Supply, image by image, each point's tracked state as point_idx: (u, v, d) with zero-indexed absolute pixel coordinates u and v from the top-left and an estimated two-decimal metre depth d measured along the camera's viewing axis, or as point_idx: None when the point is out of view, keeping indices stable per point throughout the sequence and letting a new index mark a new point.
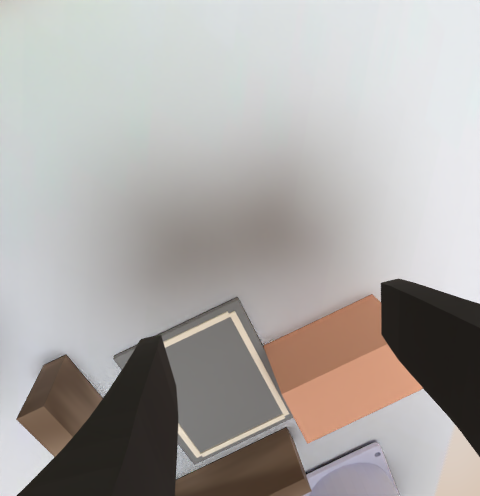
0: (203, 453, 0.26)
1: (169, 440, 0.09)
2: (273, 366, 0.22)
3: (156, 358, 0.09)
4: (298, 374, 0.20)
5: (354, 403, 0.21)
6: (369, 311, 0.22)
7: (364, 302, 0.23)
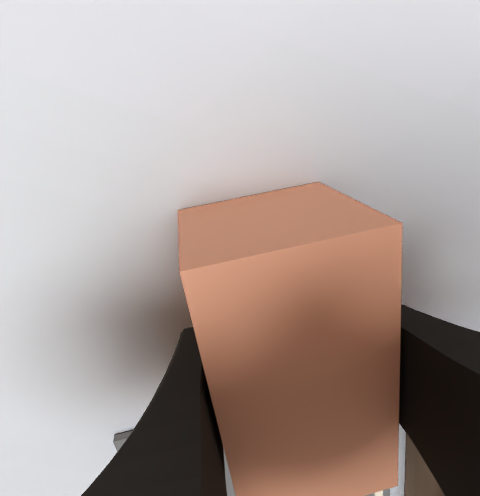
0: (375, 495, 0.17)
1: (217, 427, 0.09)
2: None
3: None
4: None
5: (346, 405, 0.09)
6: None
7: None
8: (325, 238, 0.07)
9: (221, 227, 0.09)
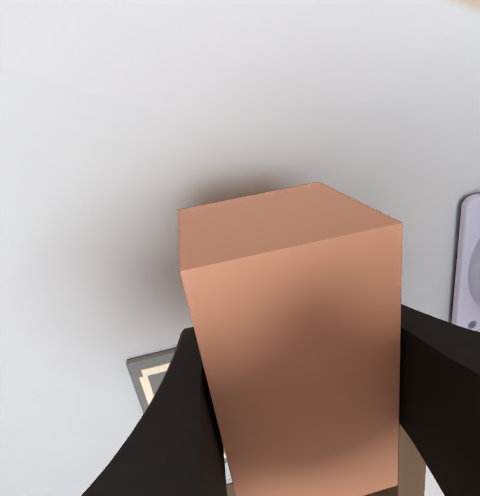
0: None
1: (218, 427, 0.09)
2: None
3: None
4: None
5: (346, 405, 0.09)
6: None
7: None
8: (325, 237, 0.07)
9: (221, 226, 0.09)
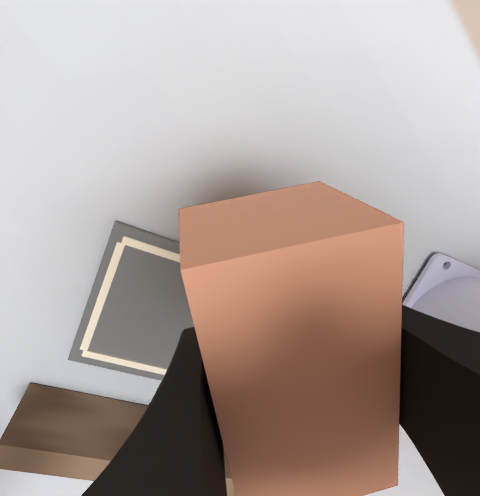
0: None
1: (218, 427, 0.09)
2: None
3: None
4: None
5: (347, 405, 0.09)
6: None
7: None
8: (326, 236, 0.07)
9: (222, 225, 0.09)
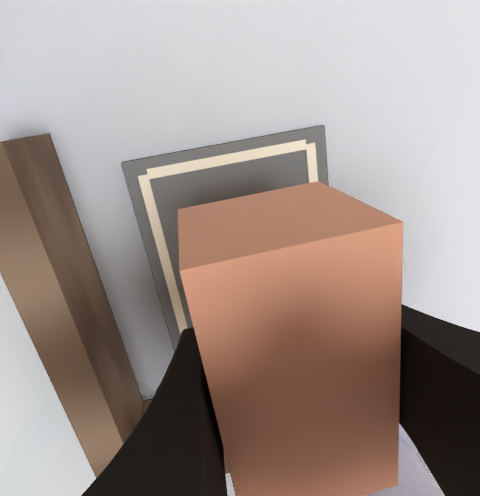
0: None
1: (218, 427, 0.09)
2: None
3: None
4: None
5: (347, 405, 0.09)
6: None
7: None
8: (325, 237, 0.07)
9: (221, 226, 0.09)
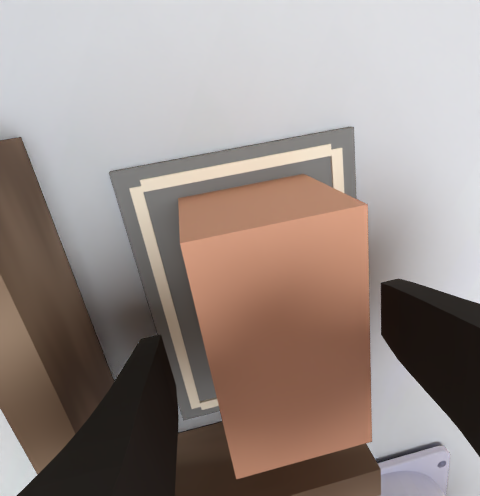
0: (203, 403, 0.15)
1: (169, 440, 0.09)
2: None
3: (156, 358, 0.09)
4: None
5: (324, 365, 0.10)
6: None
7: None
8: (302, 216, 0.08)
9: (216, 210, 0.10)
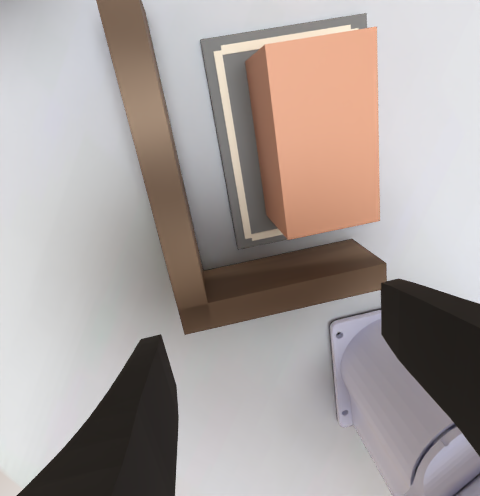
0: (254, 234, 0.21)
1: (169, 440, 0.09)
2: (275, 223, 0.18)
3: (156, 358, 0.09)
4: (280, 208, 0.17)
5: (348, 149, 0.15)
6: (253, 80, 0.17)
7: (249, 77, 0.17)
8: (336, 33, 0.14)
9: None
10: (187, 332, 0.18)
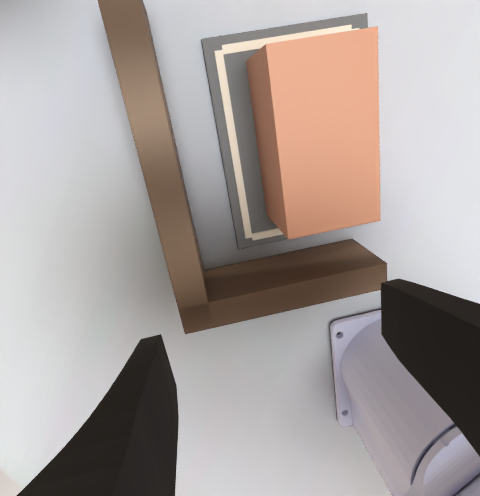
0: (254, 234, 0.21)
1: (169, 440, 0.09)
2: (276, 223, 0.18)
3: (156, 358, 0.09)
4: (280, 208, 0.17)
5: (349, 149, 0.15)
6: (254, 79, 0.17)
7: (250, 77, 0.17)
8: None
9: None
10: (187, 331, 0.18)
